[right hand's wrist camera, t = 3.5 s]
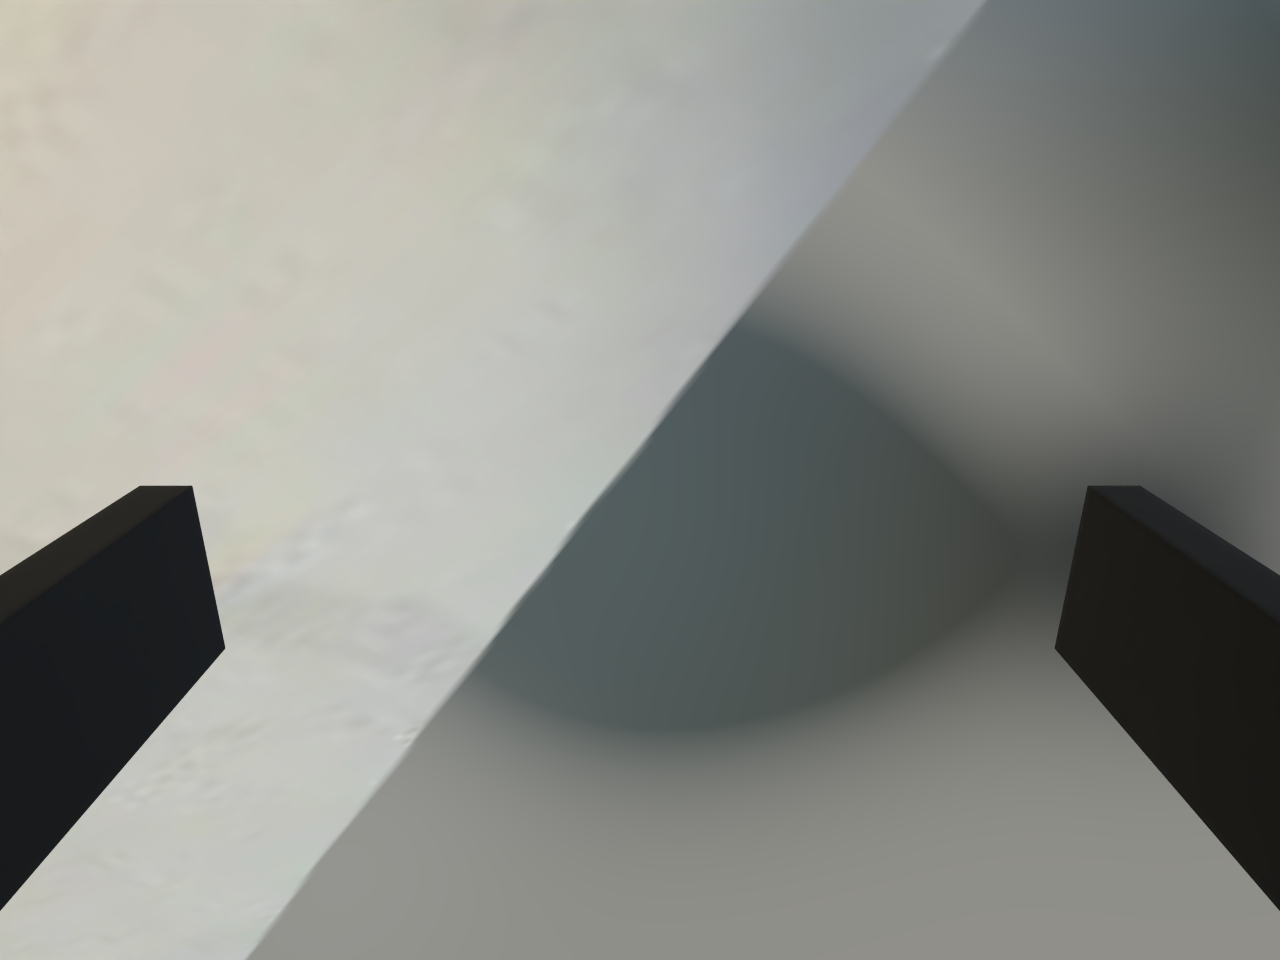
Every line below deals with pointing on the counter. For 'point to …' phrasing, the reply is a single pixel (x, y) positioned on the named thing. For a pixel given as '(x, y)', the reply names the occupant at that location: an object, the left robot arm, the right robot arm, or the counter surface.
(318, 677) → the counter surface
